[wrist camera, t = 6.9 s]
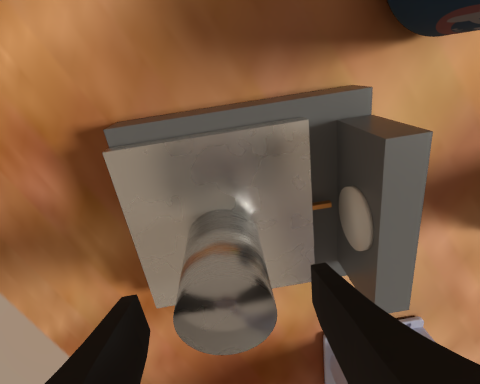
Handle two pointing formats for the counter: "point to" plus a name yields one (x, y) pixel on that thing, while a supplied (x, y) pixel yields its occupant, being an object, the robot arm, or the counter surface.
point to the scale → (336, 179)
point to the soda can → (437, 16)
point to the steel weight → (224, 286)
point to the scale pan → (219, 196)
